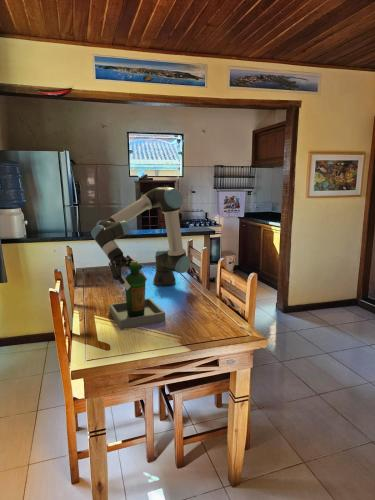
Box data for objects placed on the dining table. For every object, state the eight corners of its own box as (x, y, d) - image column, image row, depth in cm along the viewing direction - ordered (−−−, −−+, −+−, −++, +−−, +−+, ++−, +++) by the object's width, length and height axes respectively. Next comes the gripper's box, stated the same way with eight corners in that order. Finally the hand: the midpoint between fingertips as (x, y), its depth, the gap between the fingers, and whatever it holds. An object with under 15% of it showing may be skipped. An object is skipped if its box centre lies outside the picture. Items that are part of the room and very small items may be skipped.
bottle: (142, 319, 156) (141, 264, 150) (122, 317, 158) (119, 263, 152) (149, 311, 166) (148, 259, 160) (130, 309, 168) (128, 258, 162)
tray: (150, 305, 177) (149, 297, 176) (165, 321, 157) (165, 312, 156) (109, 312, 167) (109, 304, 166) (120, 330, 148) (120, 321, 147)
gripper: (125, 251, 174) (147, 282, 171) (91, 261, 153) (116, 296, 149) (132, 243, 171) (156, 274, 167) (99, 251, 149) (125, 287, 146)
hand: (137, 284), depth 158 cm, fingers open, 13 cm apart
